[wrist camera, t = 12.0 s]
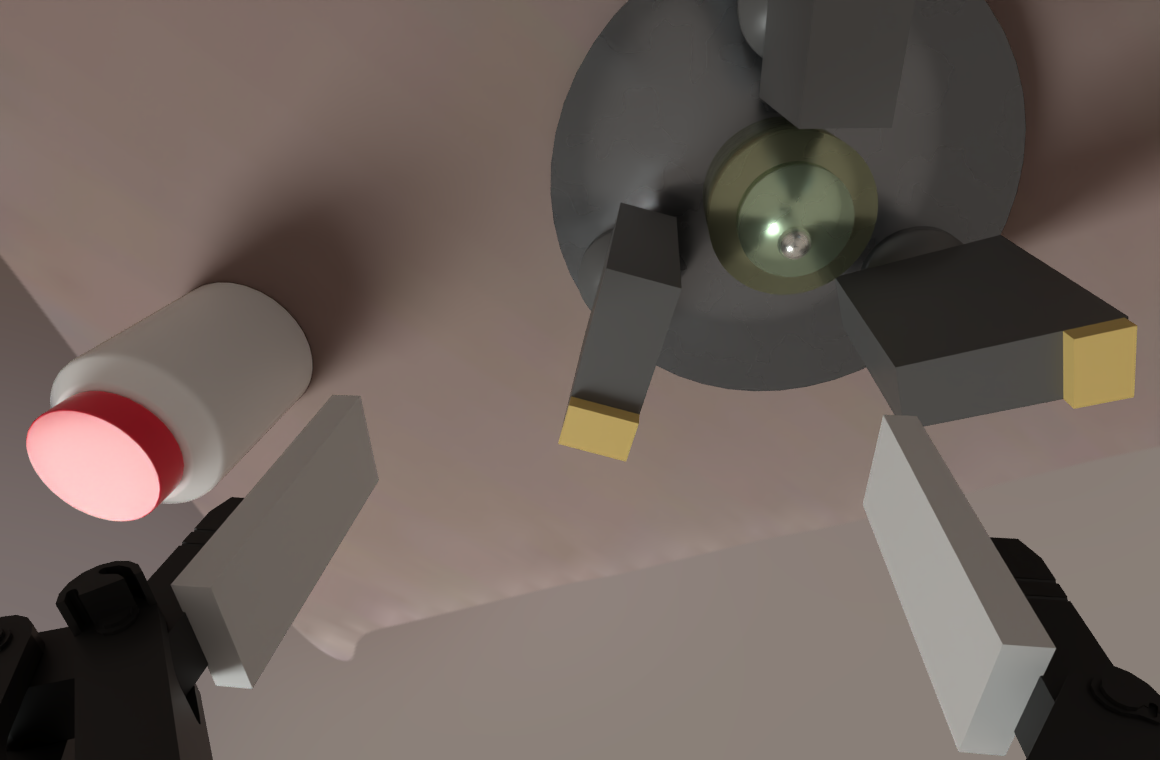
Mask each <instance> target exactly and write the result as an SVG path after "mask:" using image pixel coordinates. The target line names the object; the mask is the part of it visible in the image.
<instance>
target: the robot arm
mask: <svg viewBox="0 0 1160 760" xmlns="http://www.w3.org/2000/svg"><path fill="white" fill-rule="evenodd" d="M378 480H379V479H378V474H377V470H376V465H375V461H374V456H373V451H372V447H371V442H370V438H369V433H368V429H367V424H366V419H365V415H364V410H363V406H362V401H361V397H360V396H347V395H332V396H331V397H330V399H329V400H328V401H327V402H326V403H325V404H324V406H323V407H322V408H321V409H320V410H319V411H318V413H317V414H316V415H315V416H314V417H313V418H312V420H311V421H310V422H309V423H308V424H307V426H306V427H305V428H304V429H303V430H302V431H301V433H300V434H299V435H298V436H297V437H296V438H295V440H294V441H293V442H292V443H291V444H290V445H289V447H288V448H287V449H286V450H285V451H284V452H283V454H282V455H281V456H280V457H279V458H278V460H277V461H276V462H275V463H274V464H273V465H272V467H271V468H270V469H269V470H268V471H267V472H266V474H265V475H264V476H263V477H262V478H261V479H260V481H259V482H258V483H257V484H256V485H255V487H254V488H253V489H252V490H251V491H250V492H249V494H248V495H247V496H246V497H245V498H236V497H231V498H230V499H228V500H227V501H225V502H224V503H222V504H220V505H219V506H217V507H216V508H214V509H213V510H211V511H210V512H209V513H208V514H207V515H206V516H205V517H204V518H203V520H202V521H201V522H200V523H199V524H198V525H197V526H196V527H195V530H194V532H191V533H190V534H189V535H188V536H187V537H186V539H185V540H184V541H183V542H182V546H178V548H177V549H176V550H175V551H174V552H173V553H172V554H171V555H170V556H169V557H168V559H167V560H166V561H165V562H164V563H163V564H162V565H161V566H160V568H159V569H158V570H157V571H156V572H155V573H154V574H153V575H152V576H151V578H150V579H149V580H148V581H147V580H146V578H145V576H144V574H143V572H142V570H141V568H140V567H139V565H138V564H135V563H133V562H130V561H114V562H110V563H106V564H102V565H99V566H96V567H94V568H92V569H90V570H88V571H86V572H84V573H82V574H81V575H79V576H78V577H76V578H75V579H74V580H72V581H71V582H69V583H68V584H67V586H66V587H65V588H64V589H63V590H62V591H61V592H60V593H59V596H58V599H57V602H56V606H57V607H58V609H59V611H60V613H61V614H62V616H63V618H64V619H65V621H66V623H67V625H68V626H69V627H65V628H60V629H55V630H49V631H44V632H39V633H38V632H37V631H36V629H35V627H34V625H33V624H32V623H31V621H30V620H29V619H28V618H27V617H23V616H19V615H13V616H5V617H0V760H213V759H212V753H211V748H210V742H209V737H208V732H207V727H206V722H205V716H204V711H203V706H202V700H201V695H200V692H199V690H198V688H197V686H196V684H195V683H196V681H197V680H198V679H199V677H200V675H201V674H202V673H203V671H204V670H205V668H206V667H207V666H208V669H209V671H210V673H211V675H212V677H213V680H214V682H215V684H216V686H217V685H218V686H228V687H238V688H250V689H252V688H253V687H254V685H255V684H256V682H257V680H258V679H259V677H260V675H261V674H262V672H263V671H264V669H265V667H266V666H267V664H268V662H269V661H270V659H271V657H272V656H273V654H274V652H275V651H276V649H277V647H278V646H279V644H280V642H281V641H282V639H283V637H284V636H285V634H286V633H287V630H288V629H289V628H290V626H291V624H292V623H293V621H294V619H295V618H296V616H297V614H298V613H299V611H300V609H301V608H302V606H303V604H304V603H305V601H306V599H307V598H308V596H309V595H310V593H311V591H312V590H313V588H314V586H315V585H316V583H317V581H318V580H319V578H320V576H321V575H322V573H323V571H324V570H325V568H326V566H327V565H328V563H329V561H330V560H331V558H332V556H333V555H334V553H335V552H336V550H337V548H338V547H339V545H340V543H341V542H342V540H343V538H344V537H345V535H346V533H347V532H348V530H349V528H350V527H351V525H352V523H353V522H354V520H355V518H356V517H357V515H358V513H359V512H360V510H361V509H362V507H363V505H364V504H365V502H366V500H367V499H368V497H369V495H370V494H371V492H372V490H373V489H374V487H375V485H376V484H377V482H378ZM863 506H864V509H865V511H866V514H867V517H868V519H869V522H870V524H871V527H872V529H873V532H874V535H875V537H876V540H877V542H878V545H879V547H880V550H881V553H882V555H883V558H884V560H885V563H886V566H887V568H888V571H889V573H890V576H891V579H892V581H893V583H894V586H895V589H896V592H897V594H898V597H899V599H900V602H901V604H902V607H903V610H904V612H905V615H906V617H907V620H908V622H909V625H910V628H911V630H912V633H913V635H914V638H915V641H916V643H917V646H918V648H919V650H920V654H921V656H922V659H923V661H924V664H925V666H926V669H927V672H928V674H929V677H930V679H931V682H932V685H933V687H934V690H935V692H936V695H937V698H938V700H939V703H940V705H941V708H942V710H943V713H944V715H945V718H946V721H947V723H948V726H949V728H950V731H951V733H952V736H953V739H954V742H955V744H956V747H957V749H958V752H967V753H979V754H989V755H1000V756H1005V755H1006V753H1007V751H1008V749H1009V747H1010V745H1011V743H1012V741H1013V738H1014V736H1015V735H1016V737H1017V739H1018V741H1019V743H1020V745H1021V747H1022V749H1023V751H1024V754H1025V756H1026V758H1027V759H1026V760H1160V695H1159V694H1158V693H1157V692H1156V691H1155V690H1154V689H1153V688H1152V687H1151V686H1150V685H1148V684H1147V683H1146V682H1144V681H1142V680H1141V679H1139V678H1138V677H1136V676H1135V675H1133V674H1132V673H1130V672H1128V671H1125V670H1123V669H1120V668H1118V667H1115V666H1113V664H1112V663H1111V661H1110V660H1109V658H1108V657H1107V655H1106V654H1105V652H1104V651H1103V649H1102V648H1101V646H1100V645H1099V644H1098V642H1097V641H1096V639H1095V637H1094V636H1093V634H1092V633H1091V631H1090V630H1089V628H1088V627H1087V626H1086V624H1085V623H1084V621H1083V619H1082V618H1081V616H1080V615H1079V614H1078V612H1077V611H1076V609H1075V608H1074V606H1073V605H1072V603H1071V602H1070V601H1068V600H1067V596H1066V594H1065V593H1064V591H1063V590H1062V588H1061V587H1060V585H1059V584H1056V580H1055V578H1054V576H1053V575H1052V574H1051V572H1050V570H1049V569H1048V567H1047V566H1046V564H1045V563H1044V561H1043V560H1042V558H1041V557H1039V556H1038V555H1037V554H1036V553H1034V552H1033V551H1032V550H1031V549H1029V548H1028V547H1027V546H1026V545H1025V544H1023V543H1022V542H1021V541H1019V539H1008V538H991V537H989V535H988V534H987V532H986V530H985V529H984V527H983V526H982V524H981V522H980V521H979V519H978V517H977V515H976V514H975V512H974V510H973V509H972V507H971V506H970V504H969V502H968V500H967V499H966V497H965V495H964V494H963V492H962V490H961V489H960V487H959V485H958V484H957V482H956V480H955V479H954V477H953V475H952V474H951V472H950V470H949V469H948V467H947V465H946V464H945V462H944V460H943V459H942V457H941V455H940V454H939V452H938V450H937V449H936V447H935V445H934V444H933V442H932V440H931V439H930V437H929V435H928V434H927V432H926V430H925V429H924V427H923V425H922V424H921V422H920V420H919V419H918V417H917V416H904V415H883V419H882V423H881V427H880V432H879V436H878V440H877V445H876V449H875V454H874V458H873V462H872V467H871V471H870V475H869V480H868V484H867V489H866V493H865V497H864V502H863Z"/></svg>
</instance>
